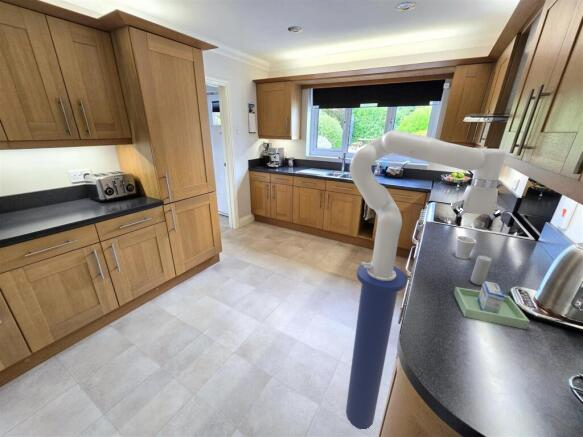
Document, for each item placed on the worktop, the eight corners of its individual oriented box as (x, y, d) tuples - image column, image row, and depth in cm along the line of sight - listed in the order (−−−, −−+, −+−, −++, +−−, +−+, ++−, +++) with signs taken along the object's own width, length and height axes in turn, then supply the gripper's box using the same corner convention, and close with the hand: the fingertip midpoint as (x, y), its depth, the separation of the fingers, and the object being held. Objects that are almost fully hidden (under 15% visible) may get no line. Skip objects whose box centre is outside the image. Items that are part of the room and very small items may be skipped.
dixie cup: (453, 258, 125) (458, 240, 121) (451, 251, 132) (455, 234, 128) (472, 262, 121) (478, 244, 118) (469, 254, 128) (474, 237, 125)
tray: (464, 316, 85) (466, 309, 84) (453, 293, 97) (455, 286, 96) (526, 329, 80) (529, 321, 78) (506, 303, 92) (509, 296, 91)
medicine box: (477, 299, 92) (483, 280, 89) (491, 303, 90) (498, 283, 88) (481, 312, 86) (488, 292, 83) (497, 316, 84) (505, 296, 81)
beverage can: (468, 278, 107) (475, 254, 103) (481, 280, 106) (489, 256, 102) (472, 284, 103) (480, 259, 99) (485, 286, 101) (494, 261, 97)
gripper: (507, 183, 90) (494, 226, 95) (454, 180, 95) (444, 221, 101) (517, 187, 83) (502, 233, 89) (459, 183, 88) (449, 227, 94)
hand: (471, 226), depth 95 cm, fingers open, 9 cm apart
